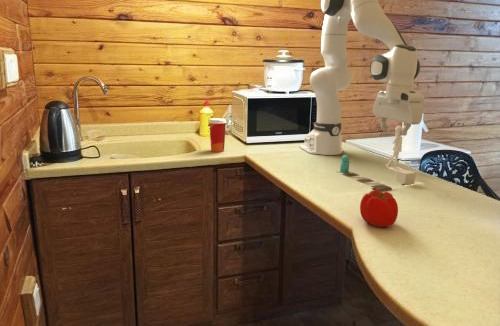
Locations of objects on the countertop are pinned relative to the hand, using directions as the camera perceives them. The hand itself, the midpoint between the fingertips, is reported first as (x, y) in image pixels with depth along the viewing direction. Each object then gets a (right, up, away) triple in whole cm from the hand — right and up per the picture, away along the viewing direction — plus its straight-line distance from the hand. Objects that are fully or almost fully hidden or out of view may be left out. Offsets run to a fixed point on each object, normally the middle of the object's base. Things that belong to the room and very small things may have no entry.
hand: (393, 132), depth 146 cm
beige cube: (+4, -18, +1) cm, 19 cm away
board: (-11, -18, +2) cm, 21 cm away
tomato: (-17, -28, -36) cm, 48 cm away
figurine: (+6, -14, +18) cm, 23 cm away
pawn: (-15, -14, +11) cm, 23 cm away
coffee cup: (-66, -5, +46) cm, 81 cm away
